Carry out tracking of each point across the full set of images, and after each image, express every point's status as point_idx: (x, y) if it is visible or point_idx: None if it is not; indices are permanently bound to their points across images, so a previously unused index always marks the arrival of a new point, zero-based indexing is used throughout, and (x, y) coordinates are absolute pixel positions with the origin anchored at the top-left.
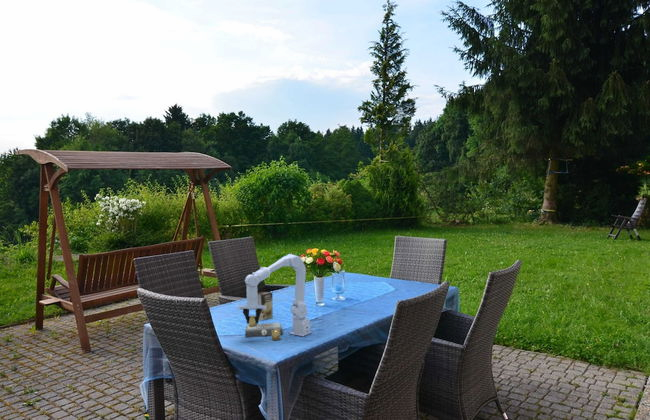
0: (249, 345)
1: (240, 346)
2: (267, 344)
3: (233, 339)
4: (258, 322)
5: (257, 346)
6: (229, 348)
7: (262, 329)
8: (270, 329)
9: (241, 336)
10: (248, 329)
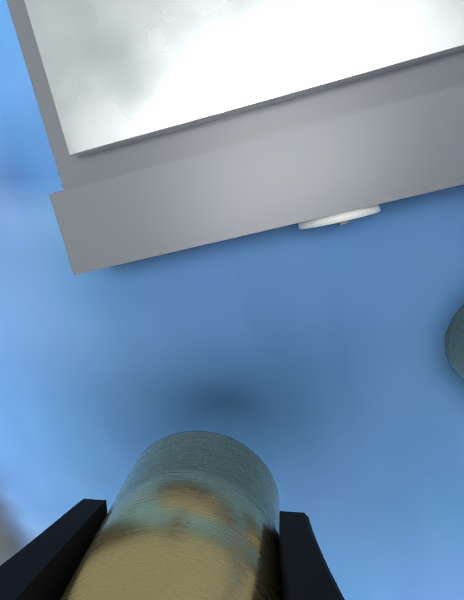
0: None
1: None
2: (412, 508)
3: (4, 339)
4: (308, 518)
5: None
6: None
7: (317, 209)
8: (449, 186)
9: (52, 229)
10: (97, 212)
